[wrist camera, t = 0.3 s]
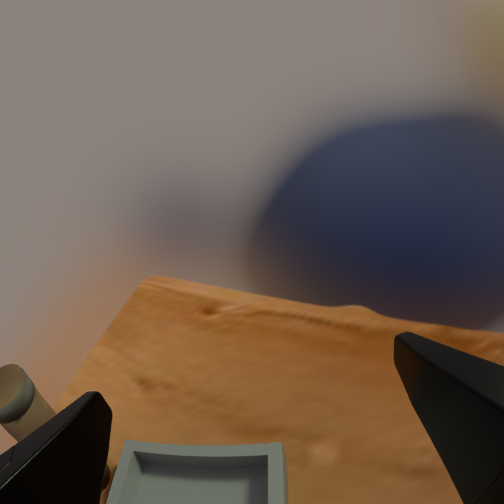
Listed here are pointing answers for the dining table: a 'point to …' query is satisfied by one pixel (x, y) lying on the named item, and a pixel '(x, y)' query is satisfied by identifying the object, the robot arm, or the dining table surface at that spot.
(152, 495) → the box
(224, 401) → the dining table surface
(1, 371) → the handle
